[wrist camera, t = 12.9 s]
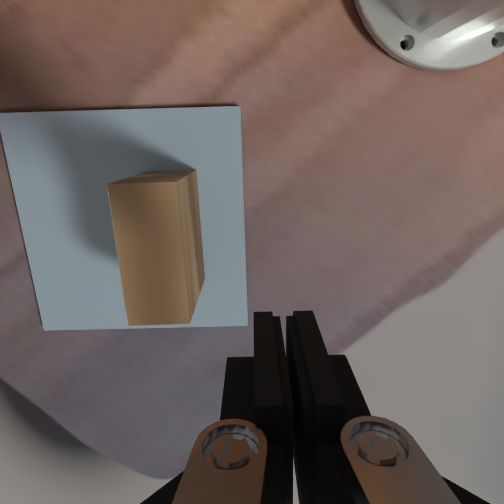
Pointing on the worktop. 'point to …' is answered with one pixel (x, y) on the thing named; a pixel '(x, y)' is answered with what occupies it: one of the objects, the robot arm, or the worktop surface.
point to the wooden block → (158, 245)
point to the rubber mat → (98, 208)
